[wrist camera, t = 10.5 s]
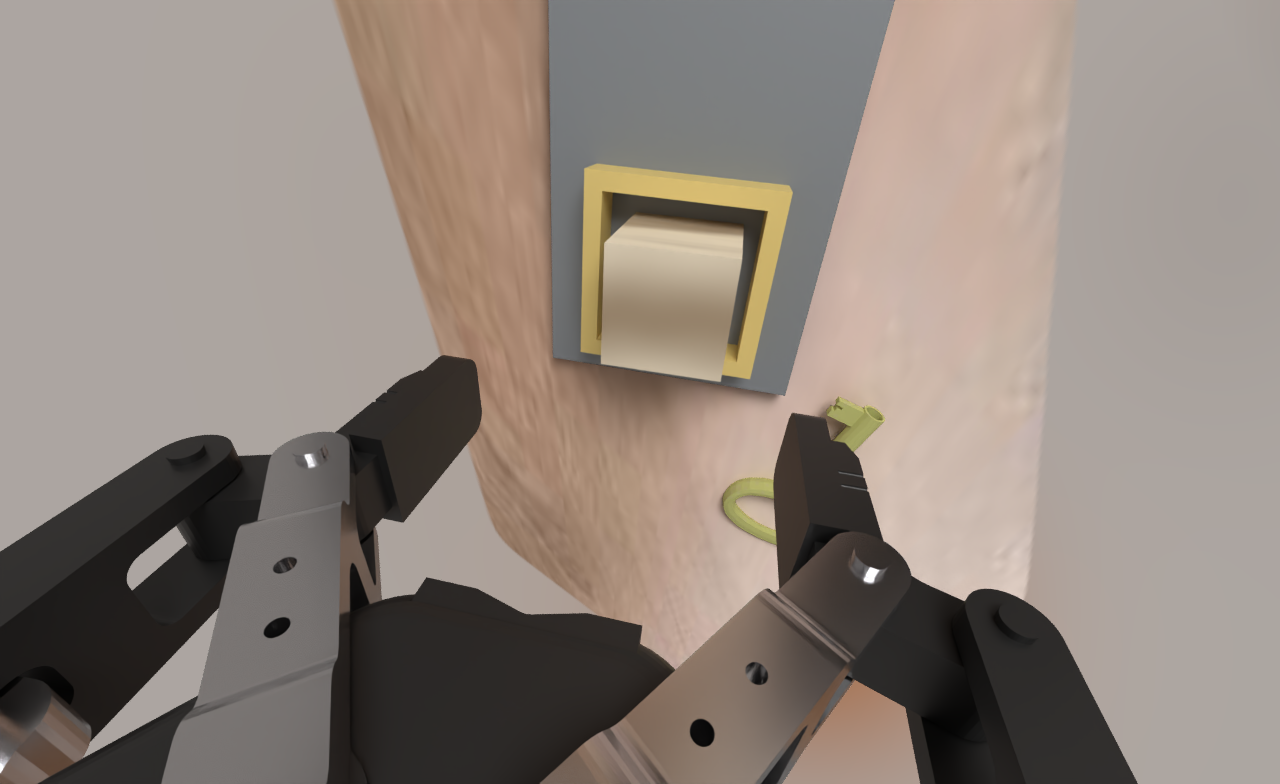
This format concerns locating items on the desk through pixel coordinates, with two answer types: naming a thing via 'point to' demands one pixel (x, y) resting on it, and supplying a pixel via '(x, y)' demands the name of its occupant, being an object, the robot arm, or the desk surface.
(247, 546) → the robot arm
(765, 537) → the key
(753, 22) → the puzzle board
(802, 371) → the desk surface
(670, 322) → the beech block
